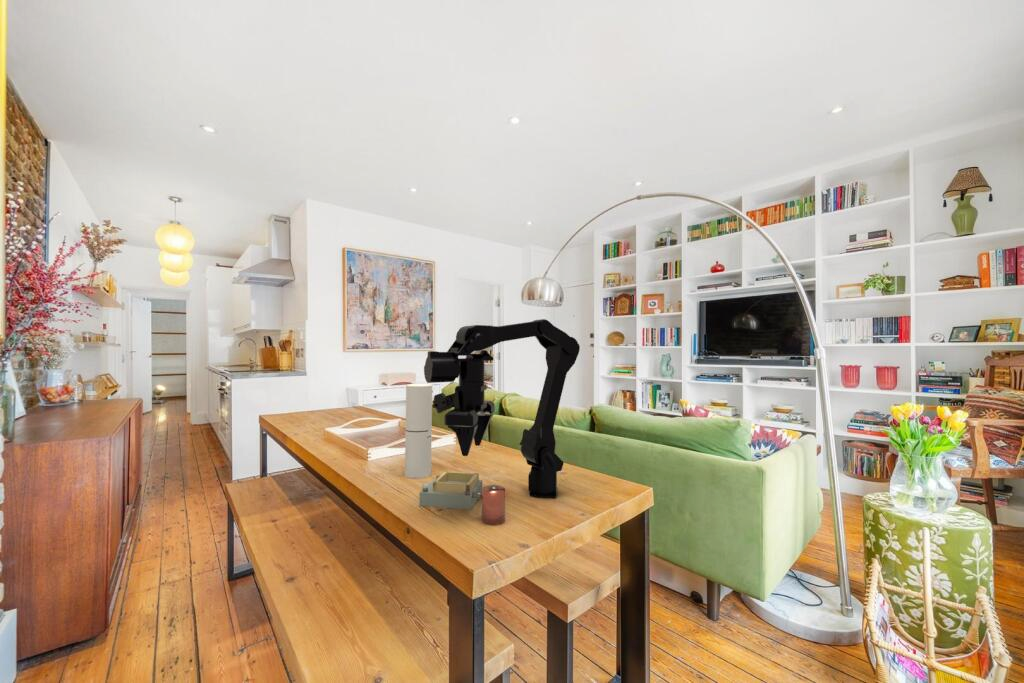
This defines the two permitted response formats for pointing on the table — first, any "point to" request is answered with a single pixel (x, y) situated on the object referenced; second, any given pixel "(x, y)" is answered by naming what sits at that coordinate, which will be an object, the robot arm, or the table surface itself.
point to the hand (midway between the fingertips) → (471, 450)
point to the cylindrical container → (418, 430)
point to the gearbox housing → (451, 490)
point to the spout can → (492, 504)
